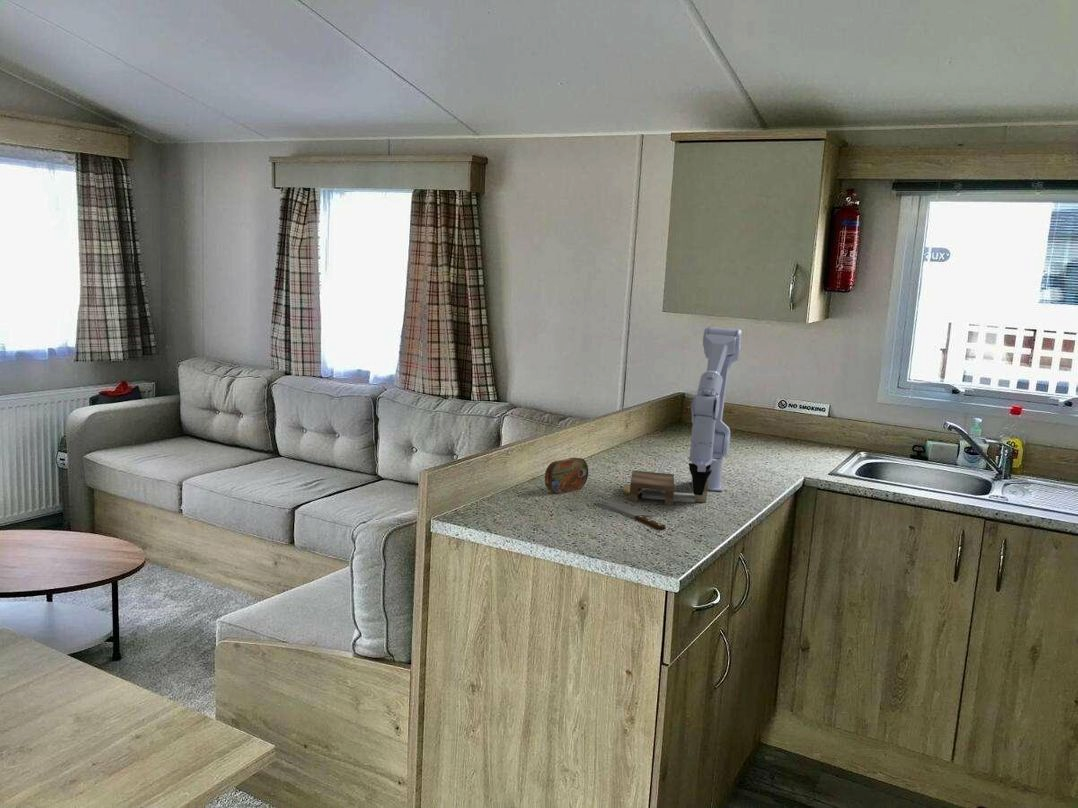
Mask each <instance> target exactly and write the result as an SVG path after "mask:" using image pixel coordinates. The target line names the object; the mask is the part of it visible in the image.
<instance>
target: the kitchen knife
mask: <svg viewBox="0 0 1078 808" xmlns="http://www.w3.org/2000/svg"><path fill="white" fill-rule="evenodd" d="M596 506H597V507H601V508H605V509H608V510H612V511H614V512H617V513H619V514H623V515H624V516H627V517H629V518H631V519H634V520H635V521H638V522H640V523H642V524H644V525H646V526H649V527H651V528H653V529H655V530H658V531H665V530H666V525H665V524H663V523H660V522H657V521H656V520H653V519H650V518H652V517H657V516H658V515H657V514H655V513H651V512H649V511H647V510H645V509H641V508H640V507H636V506H634V505H631V504H629V503H625V502H622V501H619V500H596Z"/></svg>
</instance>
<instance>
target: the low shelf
mask: <svg viewBox="0 0 1078 808" xmlns="http://www.w3.org/2000/svg"><path fill="white" fill-rule="evenodd" d="M629 485H630V496H628V497H629V499H628V500H629V502H638V498H639V497H638V488H643V489H646V490H657V491H666V493H665V500H664V505H671V506H672V505H673V504H674V501H673V496H674V492H675V474H674V473H663V472H655V471H654V472H652V471H641V470H632V471H631V477H630V484H629Z"/></svg>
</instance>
